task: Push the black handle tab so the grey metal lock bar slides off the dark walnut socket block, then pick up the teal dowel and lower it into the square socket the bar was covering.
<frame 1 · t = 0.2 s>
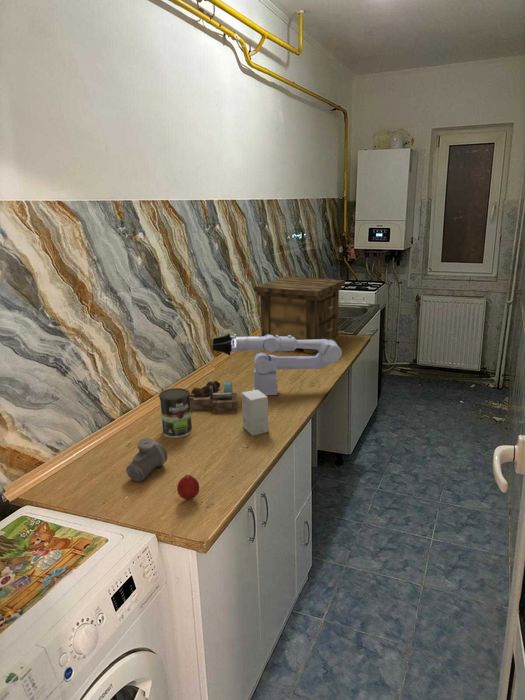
hand: (212, 344, 202), 21 cm above the table, fingers open, 7 cm apart
pipe fitting: (146, 473, 151), on the table
crate: (300, 344, 274), on the table
coffee can: (177, 431, 177), on the table
small box: (255, 430, 177), on the table
dowel: (228, 397, 205), on the table
bolt: (207, 395, 209), on the table
mount: (225, 407, 196), on the table
lock bar: (220, 391, 194), point 6 cm above the table, slide at 0.0 cm
onion: (189, 500, 137), on the table
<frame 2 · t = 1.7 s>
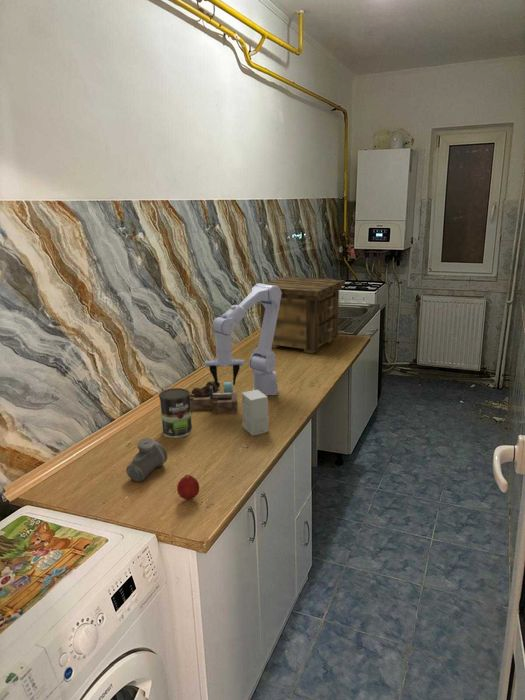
hand: (225, 384, 193), 9 cm above the table, fingers open, 6 cm apart
nothing on the table moved.
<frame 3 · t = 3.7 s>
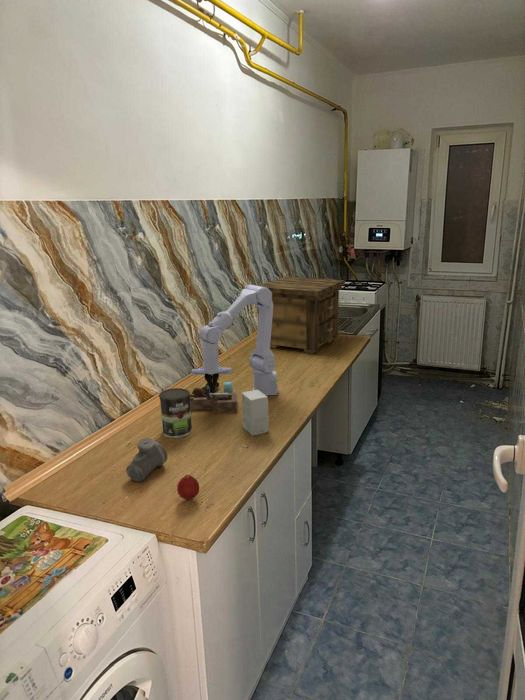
hand: (212, 392, 193), 6 cm above the table, fingers closed
lock bar: (217, 392, 194), point 6 cm above the table, slide at 1.2 cm, touching gripper
everything else where it was.
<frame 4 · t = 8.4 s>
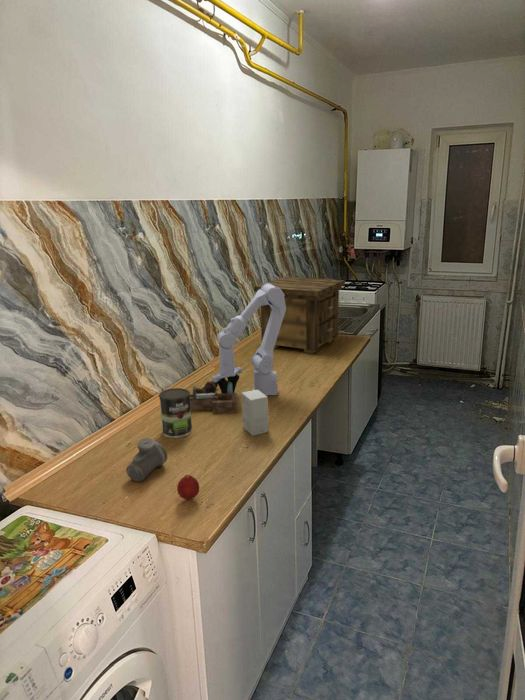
hand: (228, 394, 205), 1 cm above the table, fingers closed on dowel, 4 cm apart
dowel: (228, 397, 205), on the table, touching gripper
lock bar: (204, 392, 193), point 6 cm above the table, slide at 6.2 cm, touching mount
everything else where it was.
when the fingers open (5 cm above the table, at t = 11.1 s): dowel drops 3 cm, resting in mount.
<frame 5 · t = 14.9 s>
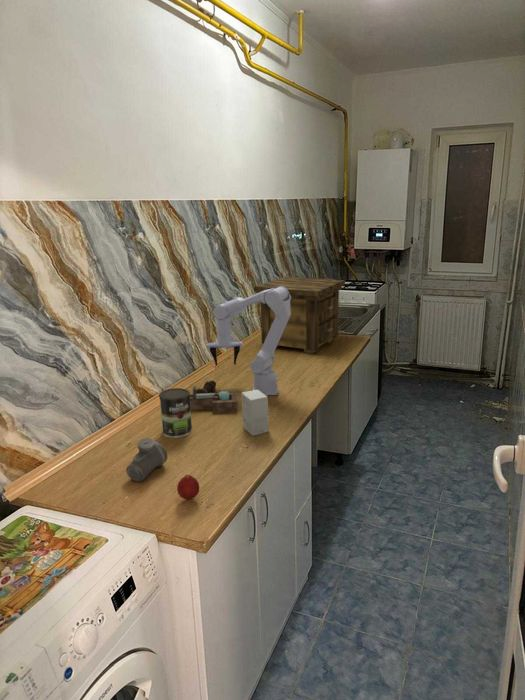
hand: (225, 364, 214), 10 cm above the table, fingers open, 7 cm apart
dowel: (224, 407, 196), resting in mount
at the end: lock bar slide at 6.2 cm; dowel 0.2 cm off-centre on the mount, point 0.0 cm above the mount's base; dowel tilted 0° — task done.
